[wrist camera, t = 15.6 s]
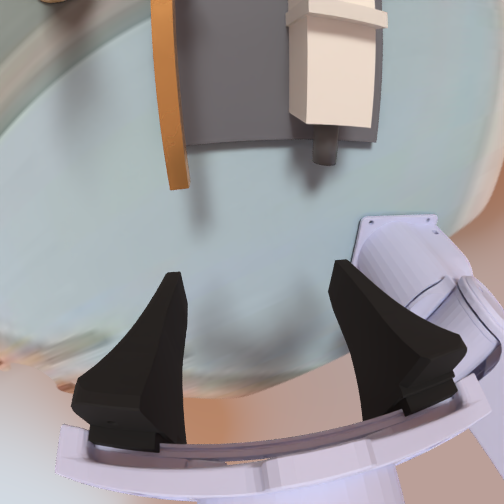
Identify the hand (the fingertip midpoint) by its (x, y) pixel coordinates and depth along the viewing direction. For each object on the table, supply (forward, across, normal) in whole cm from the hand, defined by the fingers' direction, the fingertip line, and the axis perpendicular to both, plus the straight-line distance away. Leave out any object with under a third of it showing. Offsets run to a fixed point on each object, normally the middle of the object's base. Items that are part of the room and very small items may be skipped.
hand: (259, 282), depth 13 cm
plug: (+10, -5, -12) cm, 16 cm away
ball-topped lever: (+5, +4, -11) cm, 12 cm away
